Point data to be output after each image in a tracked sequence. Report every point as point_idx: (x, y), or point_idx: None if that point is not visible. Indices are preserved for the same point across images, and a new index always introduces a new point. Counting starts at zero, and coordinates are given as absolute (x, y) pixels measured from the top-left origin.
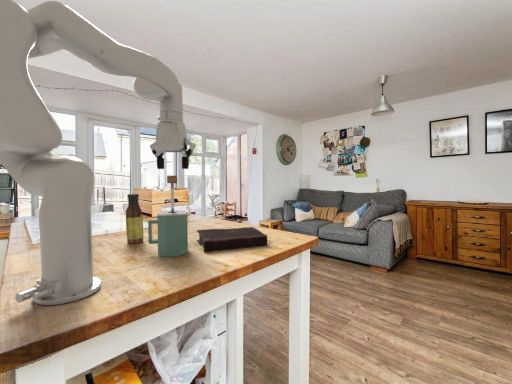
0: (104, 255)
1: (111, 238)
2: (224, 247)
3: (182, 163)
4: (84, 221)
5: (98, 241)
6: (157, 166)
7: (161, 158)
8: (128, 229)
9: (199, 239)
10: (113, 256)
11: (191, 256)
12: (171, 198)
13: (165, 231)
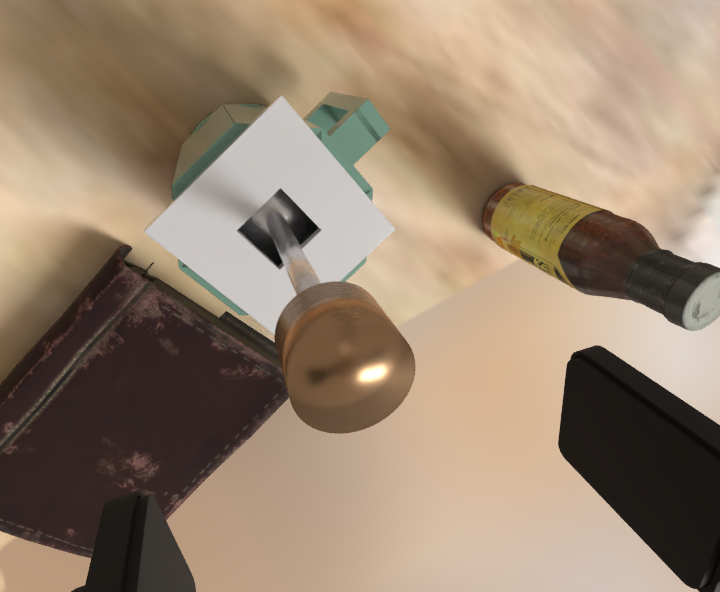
0: (492, 6)
1: (625, 205)
2: (59, 318)
3: (109, 575)
4: None
5: (644, 150)
6: (614, 359)
7: (703, 531)
8: (555, 194)
9: (277, 359)
10: (448, 11)
11: (130, 168)
12: (296, 255)
13: (235, 113)
